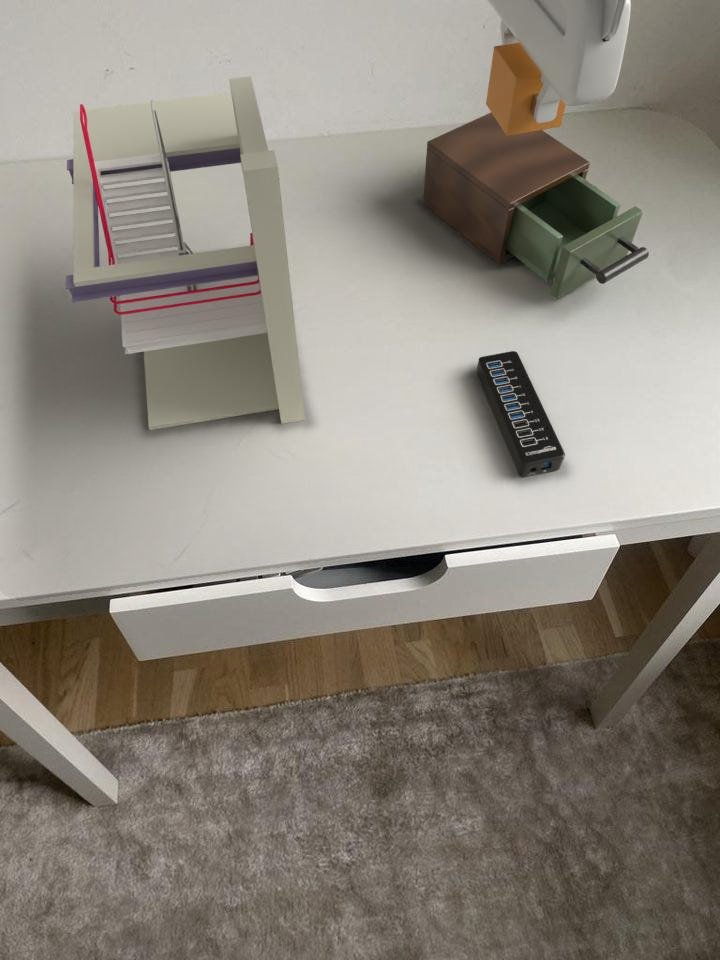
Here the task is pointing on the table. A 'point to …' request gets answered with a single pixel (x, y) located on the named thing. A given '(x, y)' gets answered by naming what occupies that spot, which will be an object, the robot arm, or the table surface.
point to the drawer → (574, 235)
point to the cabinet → (492, 178)
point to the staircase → (188, 257)
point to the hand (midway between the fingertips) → (526, 96)
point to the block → (516, 91)
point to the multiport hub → (519, 414)
